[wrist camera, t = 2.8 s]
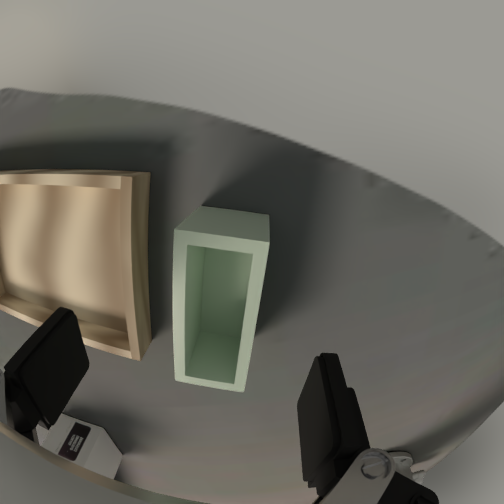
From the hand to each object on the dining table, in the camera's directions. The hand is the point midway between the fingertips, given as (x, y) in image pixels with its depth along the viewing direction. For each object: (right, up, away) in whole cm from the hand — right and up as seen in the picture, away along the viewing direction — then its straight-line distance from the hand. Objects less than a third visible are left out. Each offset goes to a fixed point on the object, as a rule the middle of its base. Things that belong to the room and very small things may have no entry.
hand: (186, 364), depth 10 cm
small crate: (+1, +2, +8) cm, 9 cm away
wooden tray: (-13, +4, +8) cm, 16 cm away
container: (-20, -21, +18) cm, 34 cm away
